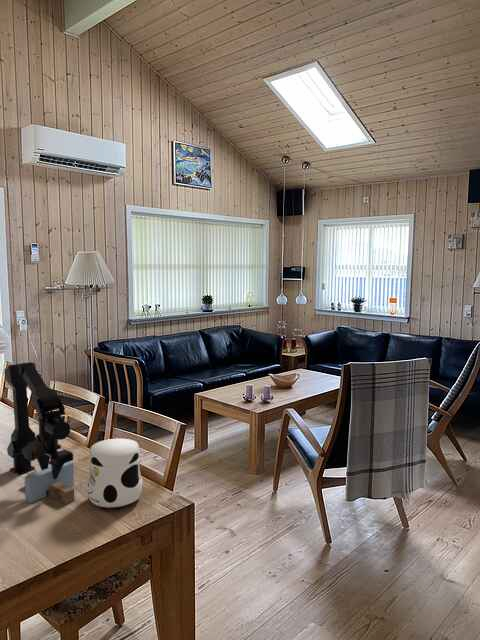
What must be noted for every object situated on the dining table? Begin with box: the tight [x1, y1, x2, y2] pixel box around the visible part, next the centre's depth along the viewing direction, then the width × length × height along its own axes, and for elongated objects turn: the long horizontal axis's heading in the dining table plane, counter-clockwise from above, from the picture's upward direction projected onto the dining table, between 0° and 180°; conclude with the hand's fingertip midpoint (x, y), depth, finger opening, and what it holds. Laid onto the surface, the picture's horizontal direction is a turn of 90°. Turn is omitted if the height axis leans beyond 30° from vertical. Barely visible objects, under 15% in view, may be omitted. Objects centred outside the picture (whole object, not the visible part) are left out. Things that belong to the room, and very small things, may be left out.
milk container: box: [87, 437, 144, 509], centre depth 160 cm, size 17×17×18 cm
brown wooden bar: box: [27, 470, 75, 505], centre depth 165 cm, size 22×3×4 cm, turn 54°
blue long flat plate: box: [24, 461, 75, 504], centre depth 165 cm, size 3×16×8 cm, turn 143°
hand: (49, 476), depth 165 cm, fingers open, 6 cm apart
